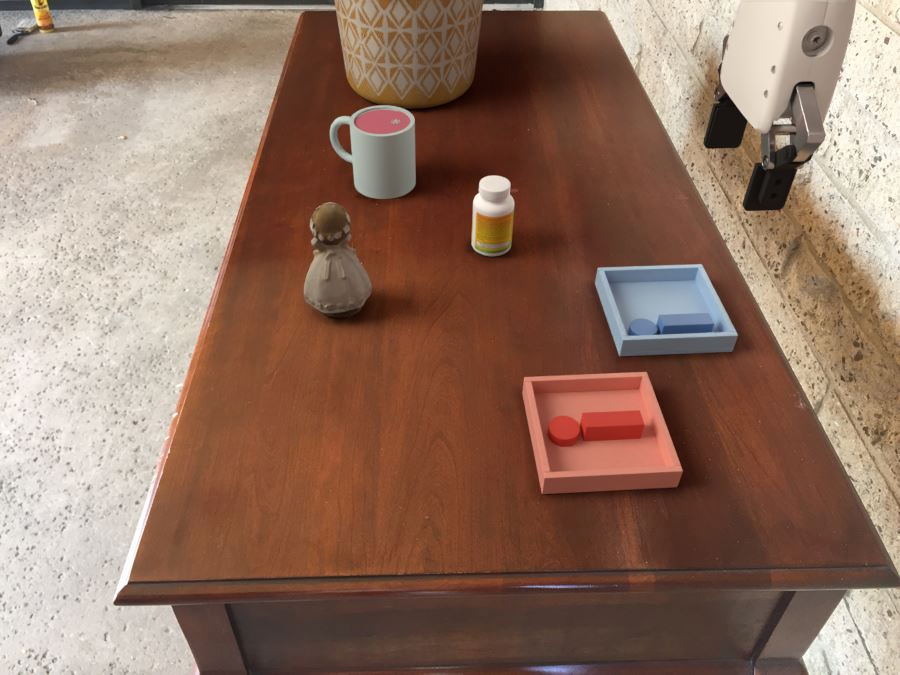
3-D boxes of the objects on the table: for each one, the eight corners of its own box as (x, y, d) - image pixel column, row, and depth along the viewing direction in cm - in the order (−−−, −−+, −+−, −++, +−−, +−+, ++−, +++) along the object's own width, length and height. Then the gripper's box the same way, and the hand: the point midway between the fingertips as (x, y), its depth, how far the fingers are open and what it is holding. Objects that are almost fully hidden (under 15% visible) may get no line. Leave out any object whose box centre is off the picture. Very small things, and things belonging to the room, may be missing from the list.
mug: (426, 175, 118) (426, 114, 111) (396, 205, 112) (393, 142, 105) (350, 153, 122) (345, 93, 116) (316, 181, 116) (309, 119, 109)
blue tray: (732, 351, 90) (738, 335, 89) (619, 356, 89) (622, 339, 88) (697, 280, 100) (701, 263, 98) (594, 283, 99) (597, 267, 98)
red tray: (677, 487, 76) (683, 471, 74) (541, 494, 75) (544, 478, 73) (642, 388, 86) (646, 371, 84) (522, 393, 85) (524, 376, 83)
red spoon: (642, 443, 79) (646, 429, 78) (550, 447, 79) (552, 433, 77) (634, 419, 82) (638, 405, 80) (545, 423, 81) (547, 409, 80)
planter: (322, 111, 132) (309, -24, 118) (355, 50, 151) (347, -73, 137) (474, 123, 130) (480, -13, 116) (488, 59, 149) (495, -64, 134)
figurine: (365, 286, 98) (357, 182, 88) (377, 320, 93) (371, 215, 83) (301, 297, 96) (286, 193, 86) (311, 333, 92) (296, 227, 81)
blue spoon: (711, 341, 91) (716, 327, 89) (631, 344, 90) (635, 330, 89) (703, 323, 93) (707, 309, 92) (625, 326, 92) (628, 312, 91)
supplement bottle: (517, 252, 104) (523, 189, 97) (480, 261, 102) (484, 198, 96) (501, 230, 107) (505, 168, 101) (465, 238, 106) (467, 176, 99)
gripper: (926, 2, 47) (828, 235, 59) (808, -79, 60) (747, 125, 71) (806, 3, 47) (731, 238, 58) (713, -79, 59) (667, 127, 71)
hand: (740, 176), depth 65 cm, fingers open, 9 cm apart
